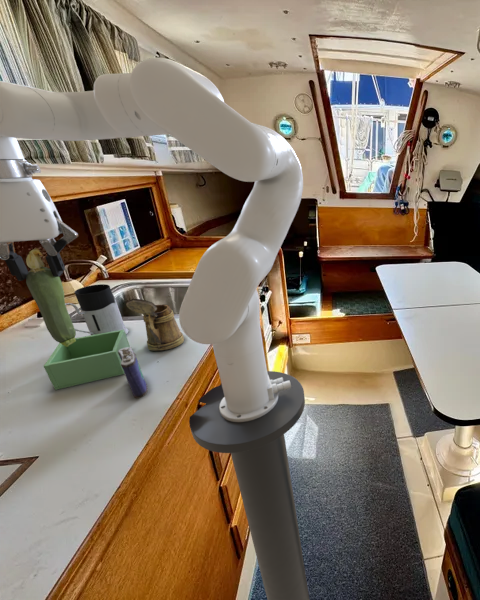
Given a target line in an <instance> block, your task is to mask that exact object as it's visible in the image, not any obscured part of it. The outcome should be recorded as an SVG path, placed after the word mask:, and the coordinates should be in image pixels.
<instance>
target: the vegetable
mask: <svg viewBox="0 0 480 600" xmlns="http://www.w3.org/2000/svg"><path fill="white" fill-rule="evenodd" d="M42 257H44V255H43V253H42V252H41V249H39V247H35V248H33V249H32V250H30V251H29V252H28V254H27V256H26V258H25V260H26V261H25V263H26V265H27V266H26V267H28V268H29V269H30V270H28V274H27V277H26V279H25V283H26V286H27V288H28V290H29V292H30V294H31V296H32V298H33V300H34V302H35V304H36V306H37V307H38V310H39V312H40V315H41V317H42V319H43V322H44V325H45V327H46V329H47V331H48V333H49V334H50V336H51V338H52V339H53V340H54V341H55V342H57V343H58V344H59V343H61V344H62V345H64V346H66V347H68V345H71V344H72V343H74V342H76V340H75V338H76V335H77V333H76V332H77V331H75V329H76V328H75V326H74V323H73V321H72V318H71V316H70V314H69V311H68V308H67V305H65V303H66V301H65V291H64V286H63V282H62V280H61V276H59V277H55V276H53V275H52V272H51V270H50V267H47V266H45V263H44V262H43V260H42Z"/></svg>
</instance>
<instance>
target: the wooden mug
mask: <svg viewBox="0 0 480 600" xmlns="http://www.w3.org/2000/svg"><path fill="white" fill-rule="evenodd" d="M125 305H126V307H127V308H128V309H129V310H130V311H132V312H134V313H137V314H141V315H143V317H142V318H143V322H144V324H145V331H146V337H147V340H146V345H147V350H149V351H153V352H163V351H169V350H172V349H176V348H177V347H179V346H181V345H182V344H183V343H184V341H185V337H184V335H183V333H182V331H181V329H180V327H179V325H178V323H177V320H176V318H175V313H174V311H173V309H171V307H170V305H168V304H155V303H154V302H152V301H151V300H150V301H149V300H145V299H140V298H131V299H129V300H128V301H126V303H125Z"/></svg>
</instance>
